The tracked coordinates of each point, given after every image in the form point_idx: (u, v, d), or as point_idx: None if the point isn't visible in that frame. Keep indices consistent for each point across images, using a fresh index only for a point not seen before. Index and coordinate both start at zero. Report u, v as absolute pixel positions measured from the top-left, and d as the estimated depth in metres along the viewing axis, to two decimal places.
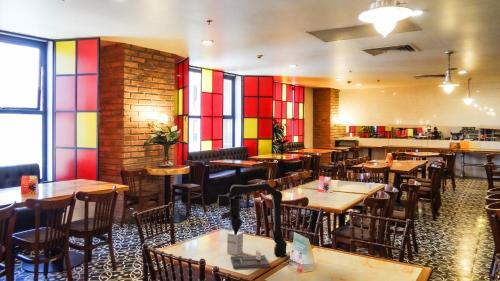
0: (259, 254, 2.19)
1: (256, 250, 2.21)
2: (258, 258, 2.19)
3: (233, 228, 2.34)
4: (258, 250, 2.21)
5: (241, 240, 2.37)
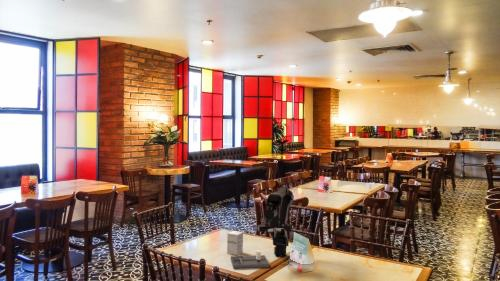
0: (259, 254, 2.19)
1: (256, 250, 2.21)
2: (258, 258, 2.19)
3: None
4: (258, 250, 2.21)
5: (241, 240, 2.37)
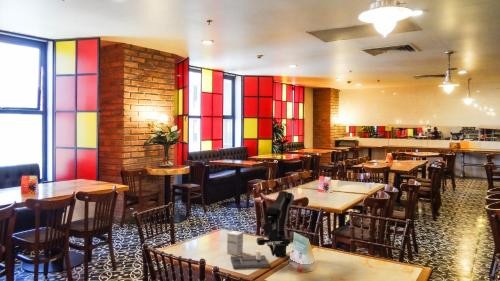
0: (259, 254, 2.19)
1: (256, 250, 2.21)
2: (258, 258, 2.19)
3: None
4: (258, 250, 2.21)
5: (241, 240, 2.37)
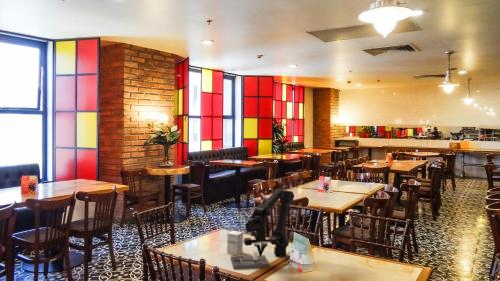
0: (256, 255, 2.18)
1: (253, 250, 2.21)
2: (255, 258, 2.18)
3: None
4: (255, 250, 2.21)
5: (241, 240, 2.37)
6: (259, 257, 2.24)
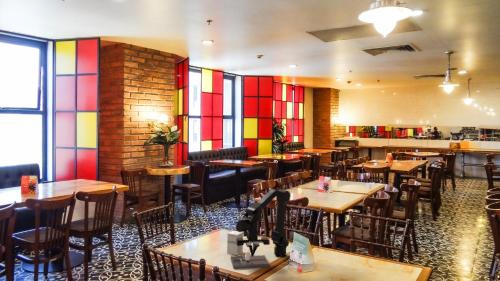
0: (248, 255, 2.18)
1: None
2: (247, 258, 2.18)
3: None
4: (247, 250, 2.20)
5: None
6: (259, 257, 2.24)
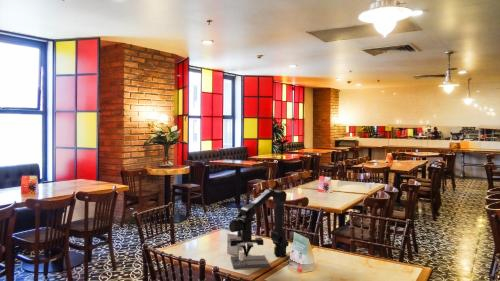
0: (242, 255, 2.17)
1: (239, 251, 2.20)
2: (241, 259, 2.17)
3: None
4: (241, 251, 2.20)
5: None
6: (259, 257, 2.24)
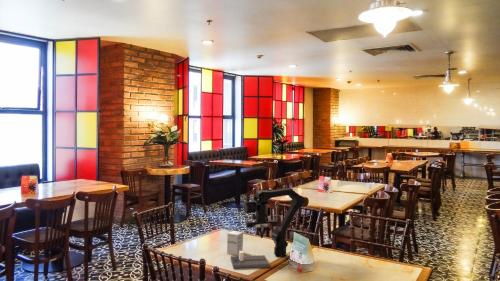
0: (242, 255, 2.17)
1: (239, 251, 2.20)
2: (241, 259, 2.17)
3: None
4: (241, 251, 2.20)
5: (241, 240, 2.37)
6: (259, 257, 2.24)
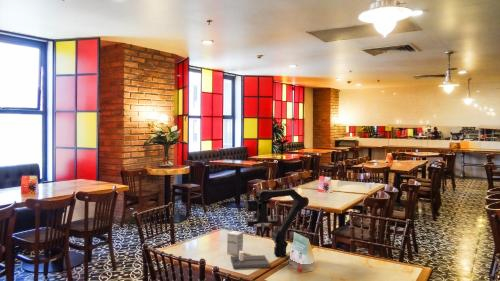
0: (242, 255, 2.17)
1: (239, 251, 2.20)
2: (241, 259, 2.17)
3: None
4: (241, 251, 2.20)
5: (241, 240, 2.37)
6: (259, 257, 2.24)
